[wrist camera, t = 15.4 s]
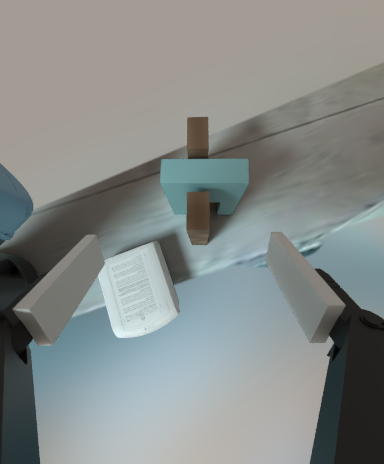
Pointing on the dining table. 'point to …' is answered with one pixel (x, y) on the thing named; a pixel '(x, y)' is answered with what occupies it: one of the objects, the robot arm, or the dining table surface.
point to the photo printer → (138, 291)
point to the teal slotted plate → (205, 181)
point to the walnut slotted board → (198, 200)
